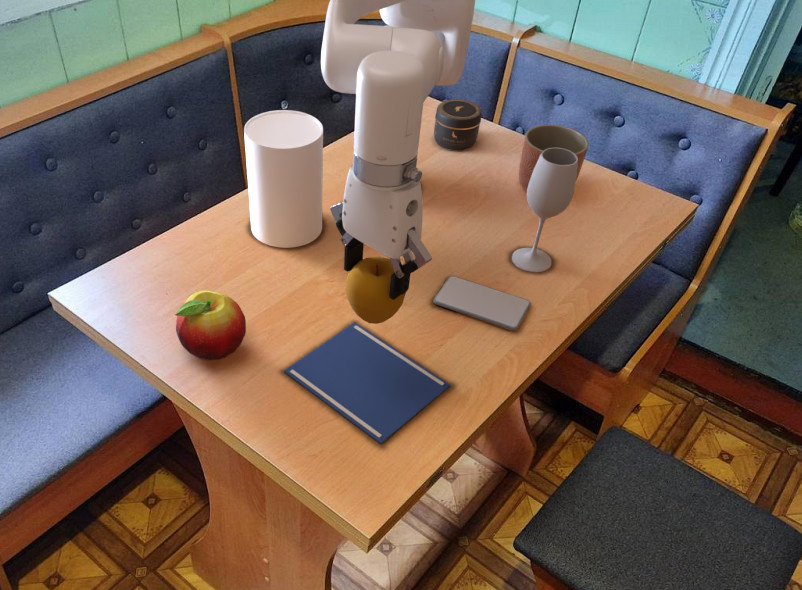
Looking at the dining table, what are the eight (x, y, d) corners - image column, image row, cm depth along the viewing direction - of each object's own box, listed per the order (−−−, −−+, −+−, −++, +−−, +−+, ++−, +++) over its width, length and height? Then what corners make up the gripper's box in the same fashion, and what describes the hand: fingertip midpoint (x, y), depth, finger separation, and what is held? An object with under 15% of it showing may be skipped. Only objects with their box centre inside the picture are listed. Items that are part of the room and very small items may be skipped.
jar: (430, 149, 161) (434, 117, 155) (434, 128, 168) (438, 96, 162) (475, 154, 160) (481, 121, 154) (477, 133, 167) (483, 100, 161)
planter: (517, 168, 156) (528, 120, 148) (576, 177, 154) (590, 129, 146) (511, 198, 148) (522, 149, 140) (572, 209, 146) (587, 159, 138)
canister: (280, 256, 132) (276, 157, 118) (237, 223, 139) (228, 125, 125) (336, 229, 139) (339, 131, 124) (292, 199, 145) (290, 103, 131)
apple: (373, 288, 108) (377, 238, 102) (416, 315, 104) (423, 265, 98) (332, 313, 103) (334, 262, 97) (375, 342, 99) (380, 291, 93)
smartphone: (450, 274, 129) (532, 300, 124) (449, 278, 129) (531, 304, 124) (431, 300, 123) (516, 329, 119) (431, 304, 124) (515, 333, 119)
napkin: (283, 372, 112) (283, 370, 112) (354, 323, 120) (354, 321, 120) (380, 444, 103) (381, 442, 102) (450, 386, 111) (450, 384, 110)
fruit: (259, 354, 114) (256, 306, 107) (196, 380, 110) (188, 331, 103) (229, 315, 121) (223, 267, 113) (168, 338, 116) (158, 290, 109)
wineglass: (552, 275, 131) (584, 171, 115) (509, 269, 131) (535, 165, 116) (552, 251, 136) (582, 148, 121) (511, 245, 137) (536, 142, 121)
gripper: (462, 180, 84) (442, 297, 97) (352, 127, 92) (347, 241, 105) (421, 205, 80) (406, 324, 93) (310, 147, 88) (310, 264, 101)
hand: (375, 279), depth 99 cm, fingers closed on apple, 7 cm apart
